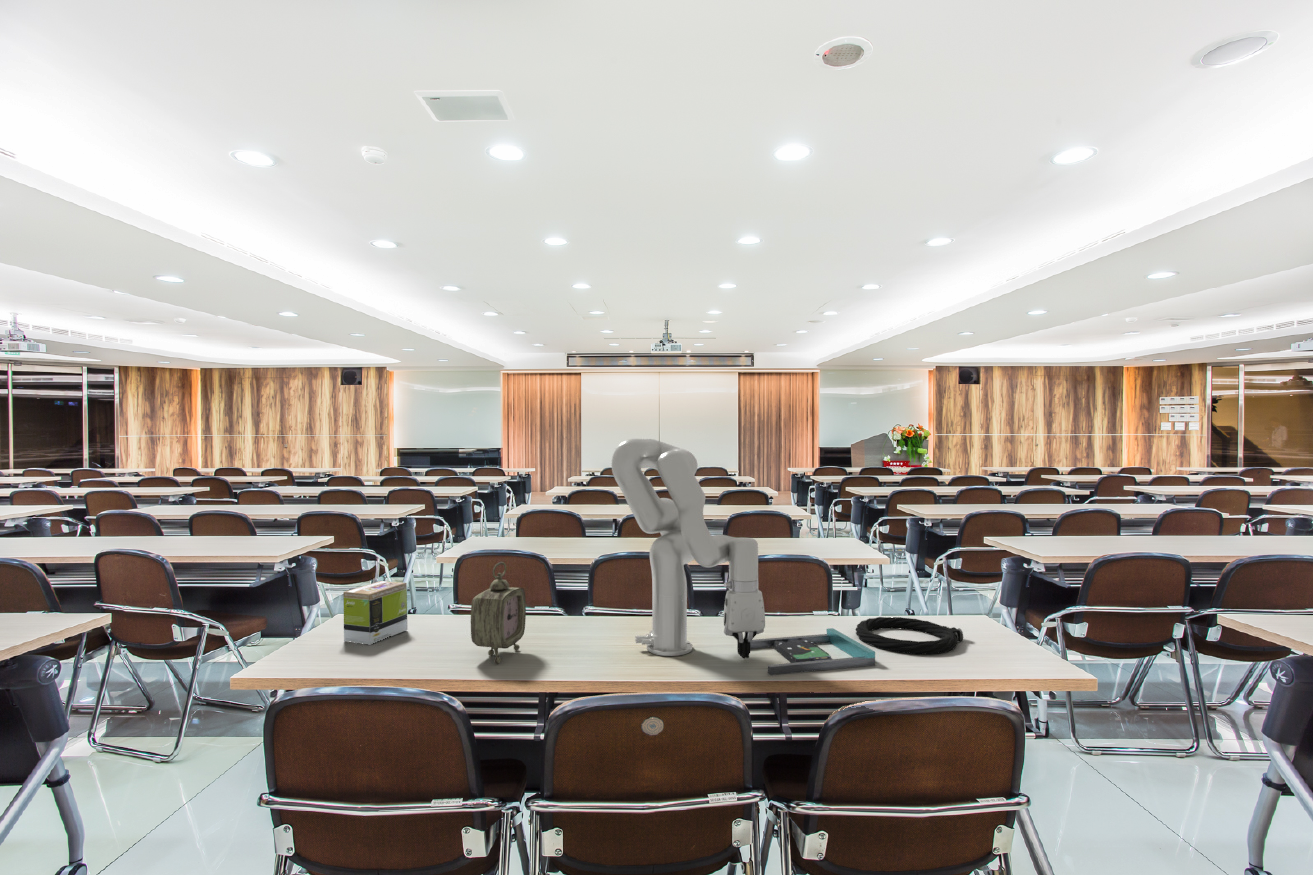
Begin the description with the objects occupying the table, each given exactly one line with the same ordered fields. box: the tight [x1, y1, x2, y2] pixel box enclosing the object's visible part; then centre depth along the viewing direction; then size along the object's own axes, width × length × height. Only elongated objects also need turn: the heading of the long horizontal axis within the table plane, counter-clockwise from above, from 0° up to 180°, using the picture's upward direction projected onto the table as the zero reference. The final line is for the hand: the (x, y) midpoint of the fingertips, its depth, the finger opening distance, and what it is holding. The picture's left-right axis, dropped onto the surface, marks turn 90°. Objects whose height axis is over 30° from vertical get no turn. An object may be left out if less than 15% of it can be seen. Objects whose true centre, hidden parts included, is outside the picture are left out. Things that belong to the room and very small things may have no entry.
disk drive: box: [773, 639, 833, 663], centre depth 165 cm, size 10×3×15 cm
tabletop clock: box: [470, 561, 527, 665], centre depth 164 cm, size 14×9×25 cm, turn 166°
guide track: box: [750, 627, 876, 676], centre depth 165 cm, size 29×21×4 cm
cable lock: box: [855, 616, 964, 656], centre depth 179 cm, size 28×4×30 cm
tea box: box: [343, 580, 408, 646], centre depth 181 cm, size 15×10×15 cm, turn 160°
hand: (743, 656), depth 161 cm, fingers closed
